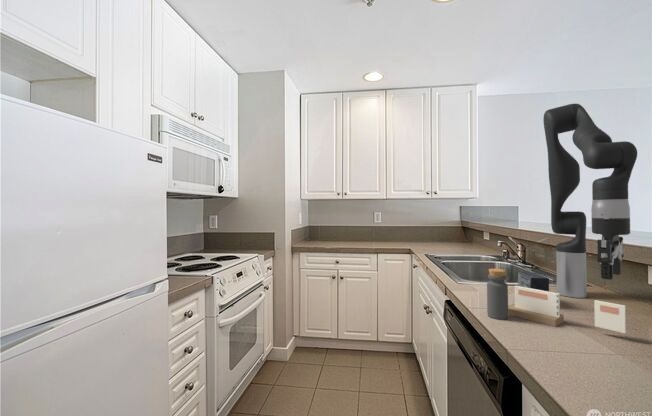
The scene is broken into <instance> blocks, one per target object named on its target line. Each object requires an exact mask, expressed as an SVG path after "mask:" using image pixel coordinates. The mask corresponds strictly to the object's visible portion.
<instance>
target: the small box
mask: <svg viewBox="0 0 652 416" xmlns="http://www.w3.org/2000/svg"><path fill="white" fill-rule="evenodd" d="M517 275H518V277H517V279H518V281H517V282H518V283H517V284H518V285H517V286H520V287H526V288H531V289H537V290H542V291H548V292H550V278H549V277H548V276H545V275H542V274H540V273H537V272H532V271H517Z"/></svg>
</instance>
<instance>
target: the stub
mask: <svg viewBox="0 0 652 416" xmlns="http://www.w3.org/2000/svg"><path fill="white" fill-rule="evenodd" d="M593 301H594V305H593V306H594V308H593V310H594V311H593V312H594V327H596V328H600V329H605V330H608V331H614V332H617V333H622V334H626V333H627V323H626V322H627V320H626V314H627V313H626V312H627V311H626V310H627V309H626V308H627V307H626V305H624V304H620V303H619V304H618V303H613V302H607V301H603V300H597V299H596V300H593Z"/></svg>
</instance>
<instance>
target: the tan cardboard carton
mask: <svg viewBox="0 0 652 416" xmlns="http://www.w3.org/2000/svg"><path fill="white" fill-rule="evenodd" d="M560 297H561V295H560V294H559V293H557V292H552V291H549V292H548V291H542V290H537V289H531V288H526V287H520V286H518V285H514V303H511V304H508V316H512V317H517V318H520V319H524V320H528V321H532V322H535V323H540V324H542V325H543V324H544V325H547V326H551V327H557V326H558V325H560V324H562V323H564V321H565V319H564V318H565V317H564V314H562V313H561V298H560Z"/></svg>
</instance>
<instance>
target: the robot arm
mask: <svg viewBox="0 0 652 416" xmlns="http://www.w3.org/2000/svg"><path fill="white" fill-rule="evenodd" d="M595 123H596V122H594V121H593V118H592V117H591V116H590V115H589V112H587V110H586V109H585V107H584V106H582V105H581V104H580V103H569V104H565V105H561V106H558V107H554V108H550V109H547V110H546V111H545V112H544V114H543V130H544V135H545V143H546V148H547V161H548V162H547V166H548V168H547V169H548V181H549V182H548V183H549V189H550V190H549V191H550V199H551V200H550V203H551V206H550V207H551V208H550V211H551V212H550V224H551V230H552V232H553V233H554V234H556V235H571V236H574V235H575V236H574V238H572V239H570V240H568V241H564V242H559V243H557V244H556V245H555V251H556V253H555V255H556V258H555V260H556V293H559V294H560V296H564V297H569V298H577V299H578V298H581V299H585V298H587V296H588V295H587V293H588V289H587V284H588V283H587V282H588V281H587V280H588V279H587V277H588V276H587V247H586V246H587V244H586V240H587V239H586V237H587V216H586V213H584V212H583V211H562V208H563V206H564V205H565V204H566V201H567V199H568V198H570V196H571V195H572V194H573V193H574V191H575V190H577V188H578V187H579V184H580V183H581V182H580V181H581V168H580V164H579V162H578V161H577V160H576V158H575V157H574V156H573V155H572V154H571V153H569V152H568V151H567V150H566V148H565V147H564V146H563V145H562V144H561V142H560V139H559V134H562V133H568V132H572V131H573V134H572V138H571V139H572V143H573V144H574V146H576V148H577V149H578V150H579V151H581V155H582V161H583V164H584V166H585V167H586V168H589V169H592V170H607V169H609V170H610V169H613V171H612V172H611V174H610V175H609V176H605V177H600V178H596V179H595V180H593V182H592V185H591V187H592V188H591V189H592V197H591V198H592V204H591V208H590V209H591V210H590V211H591V232H592V234H595V235H601V239H599V238H598V239H597V241H596V242H597V259H596V261H597V263H599V265H600V278H601V279H604V280H613V279H614V275H615V276H618V275H621V273H622V260H623V258H624V257H625V255H624V237H623V236H628V235H630V234H631V207H630V201H629V183H630V179H631V176H632V172H633V170H634V167H635V164H636V161H637V158H638V149H637V147H636V145H634V143H632V142H631V141H626V140H624V141H613V138H611V136H610V135H609V134H608V133H607V132H605V131H603V130H602V129H601V128H600V127H598V126H597V125H596V124H595Z"/></svg>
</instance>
